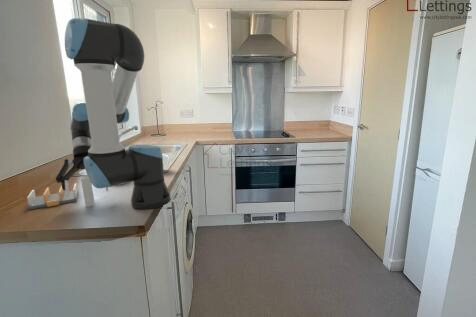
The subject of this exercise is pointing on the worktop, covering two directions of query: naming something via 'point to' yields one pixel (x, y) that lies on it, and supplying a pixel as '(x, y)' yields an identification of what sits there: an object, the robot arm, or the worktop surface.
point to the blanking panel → (87, 190)
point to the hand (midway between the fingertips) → (87, 193)
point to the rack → (51, 198)
